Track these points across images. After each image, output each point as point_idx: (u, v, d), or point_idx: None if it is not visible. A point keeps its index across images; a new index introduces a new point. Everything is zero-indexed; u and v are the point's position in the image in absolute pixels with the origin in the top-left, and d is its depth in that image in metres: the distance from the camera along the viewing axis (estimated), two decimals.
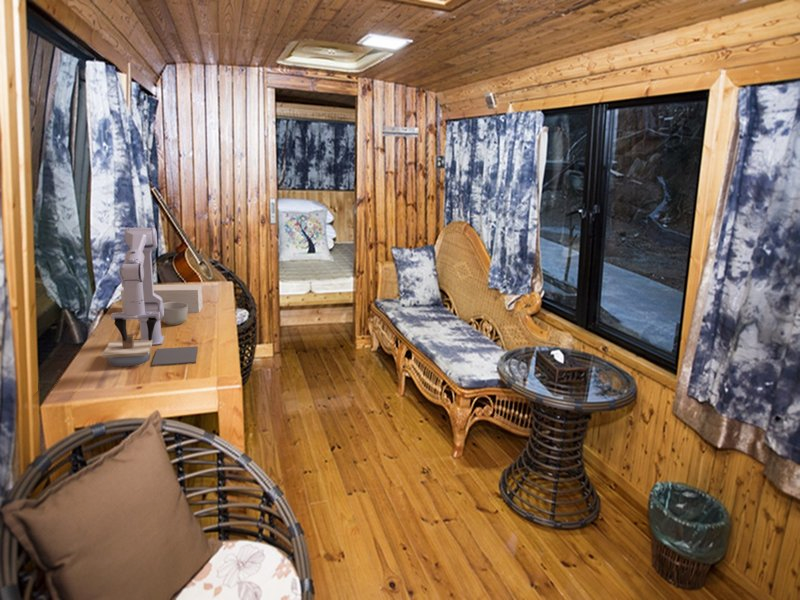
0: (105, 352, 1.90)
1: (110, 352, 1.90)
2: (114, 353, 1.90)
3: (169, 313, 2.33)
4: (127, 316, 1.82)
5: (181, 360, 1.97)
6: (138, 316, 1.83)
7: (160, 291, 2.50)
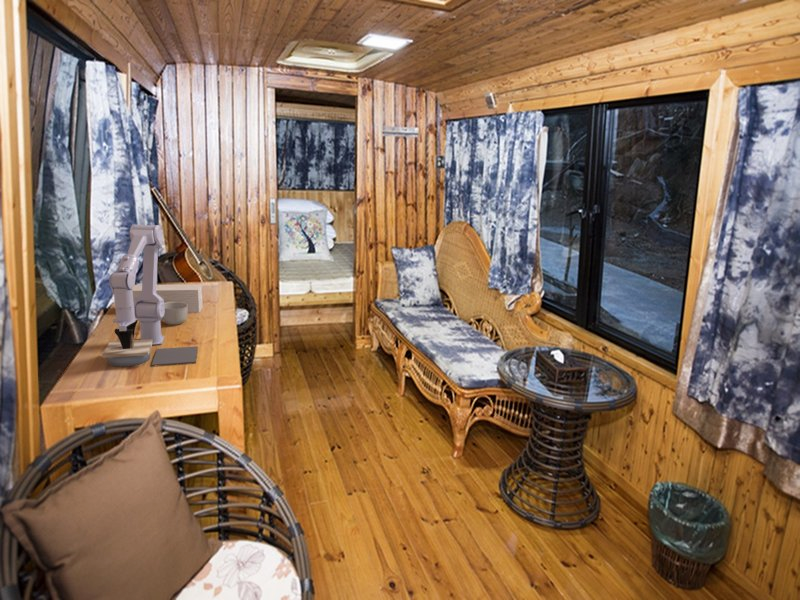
0: (105, 352, 1.90)
1: (110, 352, 1.90)
2: (114, 353, 1.90)
3: (169, 313, 2.33)
4: None
5: (181, 360, 1.97)
6: (116, 321, 1.92)
7: (160, 291, 2.50)
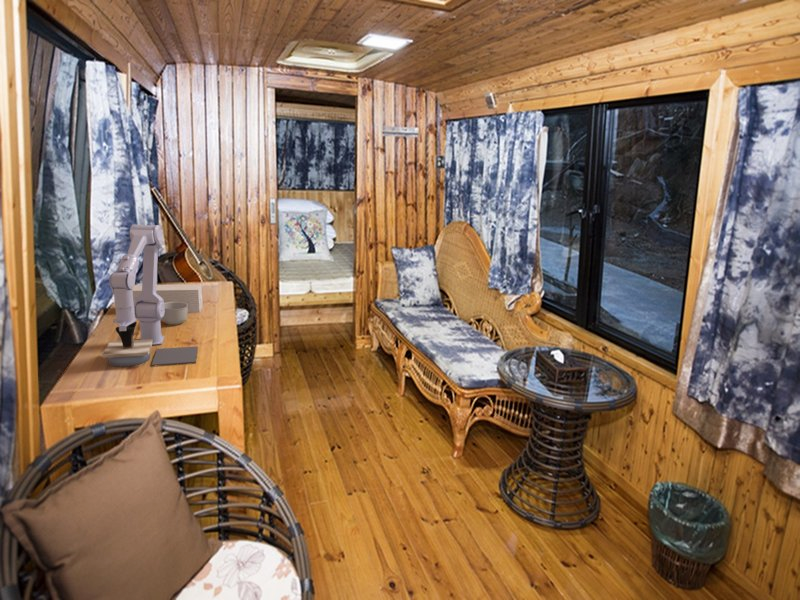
0: (105, 352, 1.90)
1: (110, 352, 1.90)
2: (114, 353, 1.90)
3: (169, 313, 2.33)
4: None
5: (181, 360, 1.97)
6: (116, 322, 1.92)
7: (160, 291, 2.50)
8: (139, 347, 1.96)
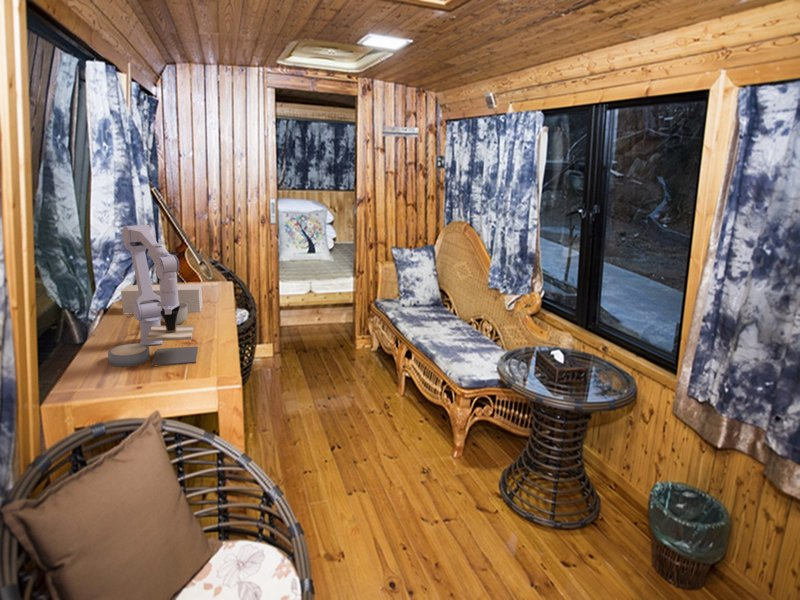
0: (149, 335, 1.93)
1: (154, 335, 1.93)
2: (158, 336, 1.93)
3: None
4: None
5: (181, 360, 1.97)
6: (160, 305, 1.94)
7: None
8: (182, 332, 1.99)
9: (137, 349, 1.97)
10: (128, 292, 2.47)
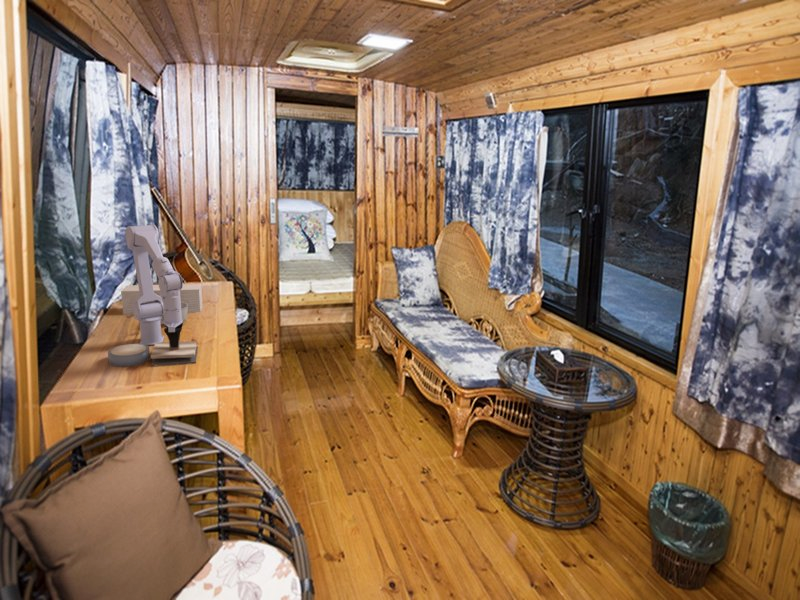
0: (153, 353, 1.95)
1: (158, 353, 1.95)
2: (162, 354, 1.94)
3: None
4: None
5: (181, 360, 1.97)
6: (164, 323, 1.96)
7: None
8: (185, 349, 2.00)
9: (137, 349, 1.97)
10: (128, 292, 2.47)
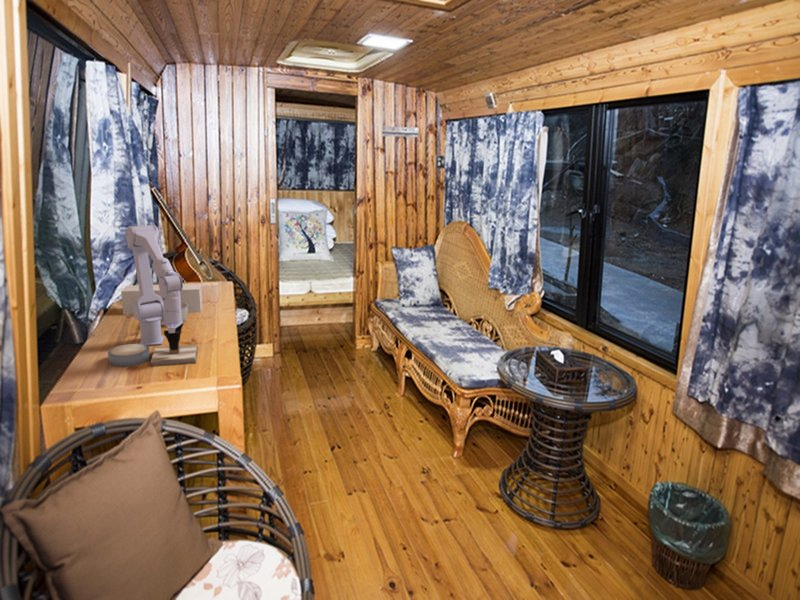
0: (153, 358, 1.95)
1: (158, 358, 1.95)
2: (162, 358, 1.95)
3: None
4: None
5: None
6: (164, 324, 1.96)
7: None
8: (185, 353, 2.01)
9: (137, 349, 1.97)
10: (128, 292, 2.46)
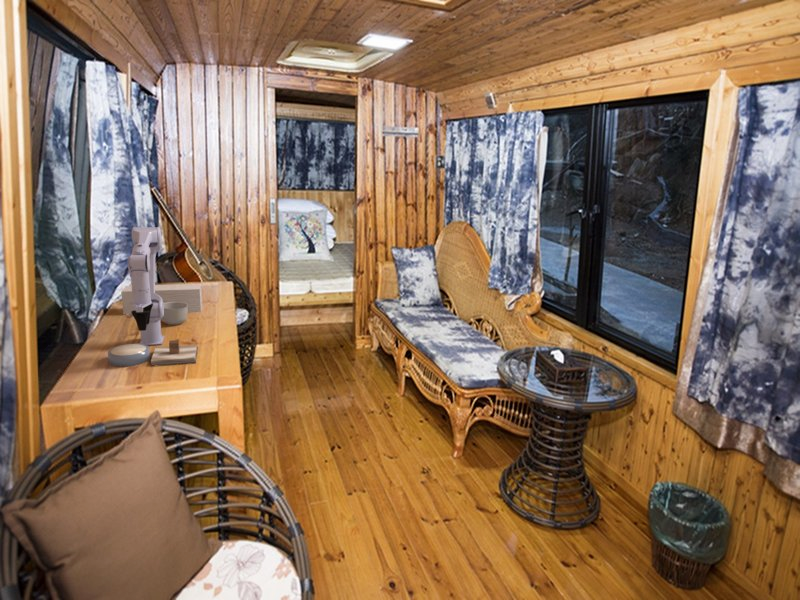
0: (153, 358, 1.95)
1: (158, 358, 1.95)
2: (162, 358, 1.95)
3: (169, 313, 2.33)
4: None
5: None
6: (132, 304, 1.95)
7: (161, 291, 2.50)
8: (185, 353, 2.01)
9: (137, 349, 1.97)
10: (129, 292, 2.46)
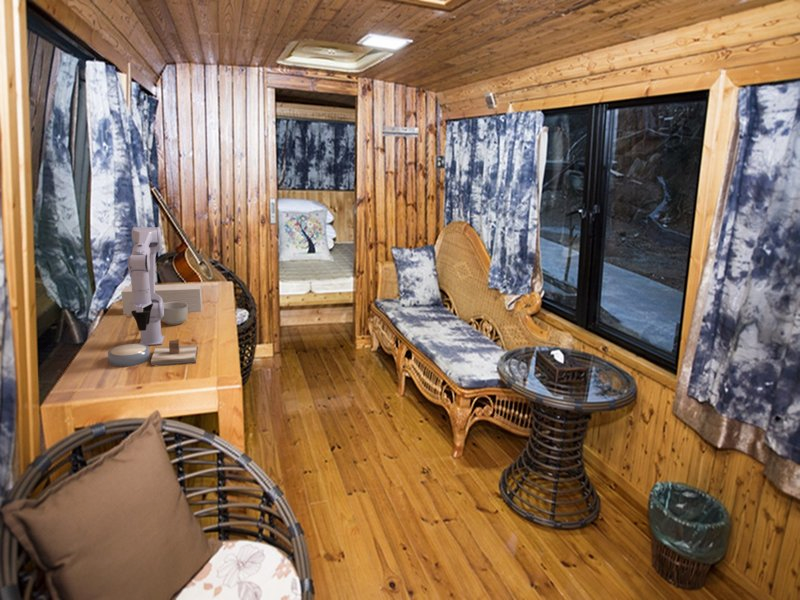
0: (153, 358, 1.95)
1: (158, 358, 1.95)
2: (162, 358, 1.95)
3: (169, 313, 2.33)
4: None
5: None
6: (132, 304, 1.95)
7: (162, 291, 2.50)
8: (185, 353, 2.01)
9: (137, 349, 1.97)
10: (129, 292, 2.46)
